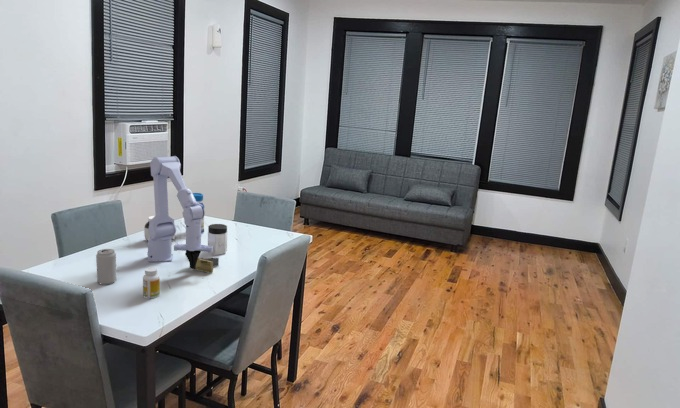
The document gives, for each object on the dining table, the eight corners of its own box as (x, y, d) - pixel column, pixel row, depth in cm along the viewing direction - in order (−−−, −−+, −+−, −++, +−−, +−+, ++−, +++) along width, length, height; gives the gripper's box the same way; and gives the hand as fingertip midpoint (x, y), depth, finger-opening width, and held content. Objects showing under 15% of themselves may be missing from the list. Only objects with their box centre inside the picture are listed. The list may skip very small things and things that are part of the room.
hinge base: (188, 268, 196) (188, 253, 194) (188, 266, 199) (188, 250, 197) (218, 267, 199) (219, 252, 198) (218, 265, 202) (218, 250, 201)
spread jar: (141, 241, 224) (141, 217, 222) (158, 235, 235) (157, 212, 232) (163, 246, 221) (163, 221, 218) (178, 239, 231) (178, 216, 229)
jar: (210, 255, 213) (211, 229, 210) (204, 250, 219) (205, 224, 217) (230, 253, 218) (230, 227, 215) (223, 247, 224) (224, 223, 221)
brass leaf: (192, 268, 195) (192, 257, 194) (194, 268, 196) (194, 257, 195) (211, 273, 192) (211, 261, 191) (212, 272, 193) (213, 261, 192)
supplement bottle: (161, 292, 172) (161, 267, 170) (156, 299, 167) (156, 272, 164) (146, 291, 172) (146, 266, 169) (140, 298, 166) (140, 271, 164)
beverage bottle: (186, 230, 246) (187, 192, 242) (204, 230, 249) (204, 192, 244) (187, 235, 238) (187, 195, 234) (204, 235, 241) (205, 196, 237)
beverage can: (111, 277, 182) (110, 247, 179) (119, 282, 178) (118, 251, 175) (94, 281, 177) (92, 250, 174) (102, 286, 173) (101, 255, 170)
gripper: (171, 237, 183) (171, 271, 186) (210, 239, 184) (209, 272, 187) (176, 232, 190) (176, 264, 193) (213, 234, 191) (213, 266, 194)
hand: (193, 268), depth 191 cm, fingers closed
